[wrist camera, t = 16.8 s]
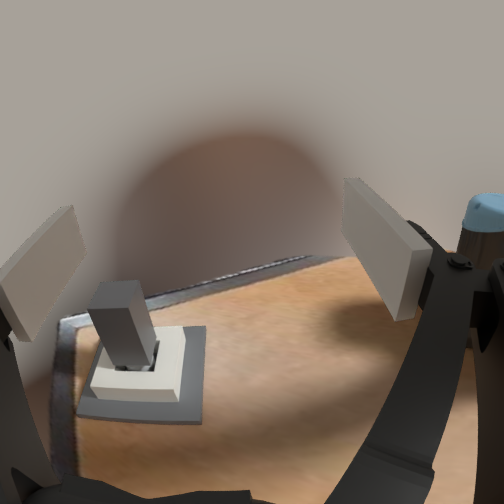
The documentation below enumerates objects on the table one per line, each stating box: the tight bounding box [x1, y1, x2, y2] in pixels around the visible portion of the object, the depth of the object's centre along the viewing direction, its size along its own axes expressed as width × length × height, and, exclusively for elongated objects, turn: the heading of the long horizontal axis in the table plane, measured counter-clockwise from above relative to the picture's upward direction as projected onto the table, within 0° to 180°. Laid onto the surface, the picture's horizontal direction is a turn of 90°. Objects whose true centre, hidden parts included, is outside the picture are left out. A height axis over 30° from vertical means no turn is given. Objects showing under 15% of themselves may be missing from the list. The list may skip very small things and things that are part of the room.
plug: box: [87, 280, 157, 372], centre depth 39 cm, size 6×6×14 cm
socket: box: [76, 326, 206, 425], centre depth 42 cm, size 18×18×4 cm
